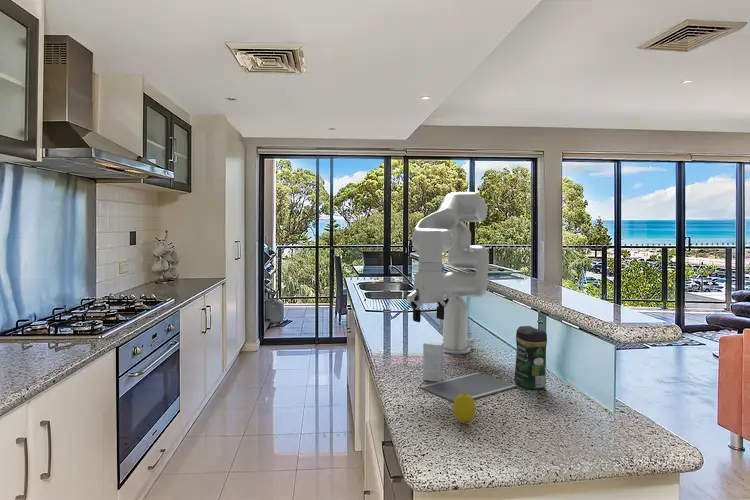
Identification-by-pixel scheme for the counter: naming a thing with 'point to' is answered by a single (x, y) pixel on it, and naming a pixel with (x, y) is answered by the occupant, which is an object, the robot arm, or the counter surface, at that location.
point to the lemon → (464, 407)
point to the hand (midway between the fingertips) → (428, 320)
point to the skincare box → (433, 361)
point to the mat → (468, 386)
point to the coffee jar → (530, 357)
